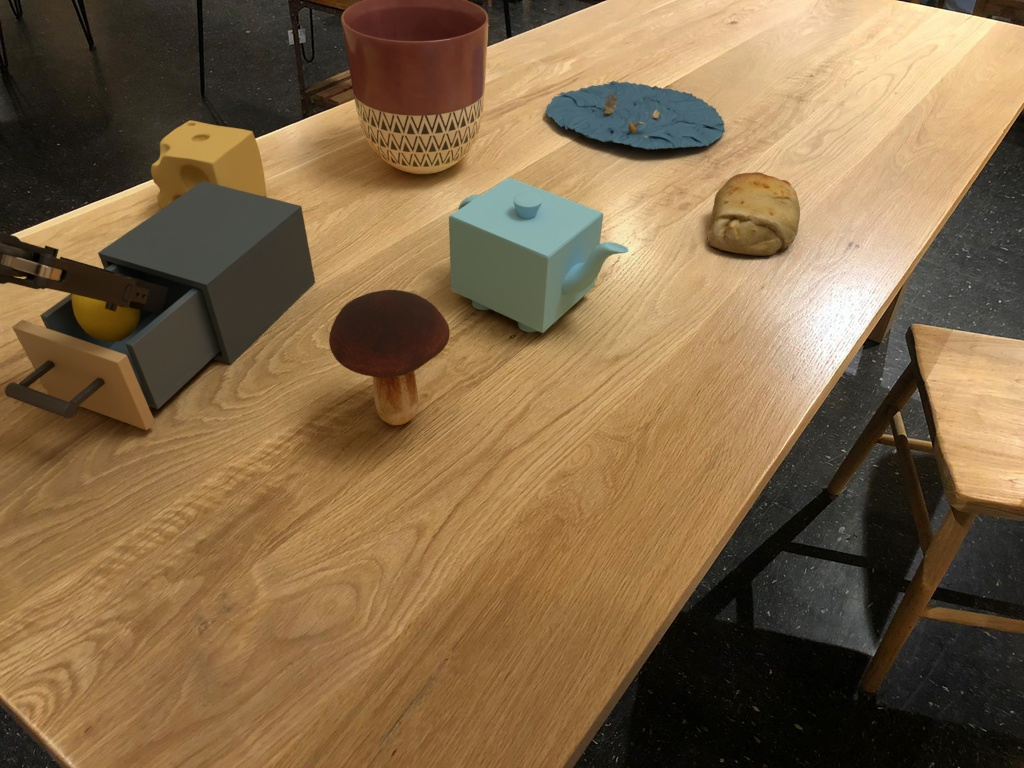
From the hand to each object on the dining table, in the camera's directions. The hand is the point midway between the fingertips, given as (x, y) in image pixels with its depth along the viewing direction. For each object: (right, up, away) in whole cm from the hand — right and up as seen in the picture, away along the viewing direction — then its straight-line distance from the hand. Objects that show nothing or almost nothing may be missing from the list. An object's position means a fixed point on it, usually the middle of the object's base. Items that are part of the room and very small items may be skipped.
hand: (136, 292), depth 76 cm
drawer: (-2, -9, +3) cm, 9 cm away
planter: (+24, +24, +41) cm, 53 cm away
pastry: (+70, +11, +29) cm, 76 cm away
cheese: (-3, +15, +30) cm, 34 cm away
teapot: (+40, 0, +16) cm, 43 cm away
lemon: (-1, -5, 0) cm, 5 cm away
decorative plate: (+58, +36, +54) cm, 87 cm away
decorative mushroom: (+26, -13, +1) cm, 29 cm away
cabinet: (+4, 0, +14) cm, 14 cm away
